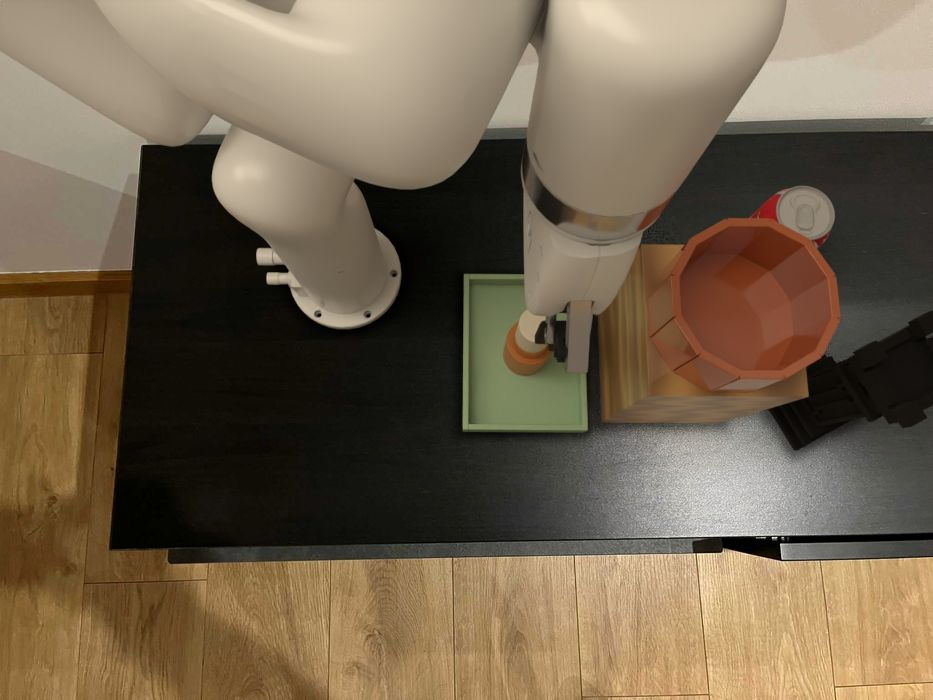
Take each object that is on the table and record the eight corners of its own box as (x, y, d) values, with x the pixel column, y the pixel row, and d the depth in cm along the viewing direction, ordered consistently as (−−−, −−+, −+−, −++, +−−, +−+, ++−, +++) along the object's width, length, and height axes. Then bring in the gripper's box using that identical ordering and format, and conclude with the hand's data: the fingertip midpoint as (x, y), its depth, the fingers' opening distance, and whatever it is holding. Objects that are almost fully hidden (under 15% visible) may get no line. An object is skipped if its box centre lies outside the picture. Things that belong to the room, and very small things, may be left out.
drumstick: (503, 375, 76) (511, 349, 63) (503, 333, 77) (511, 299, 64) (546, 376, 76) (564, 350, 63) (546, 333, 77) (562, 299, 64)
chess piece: (794, 450, 75) (910, 433, 56) (754, 385, 77) (853, 347, 57) (855, 416, 76) (991, 388, 56) (814, 353, 77) (933, 304, 58)
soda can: (786, 228, 81) (841, 182, 69) (786, 286, 79) (842, 249, 67) (725, 223, 81) (770, 175, 69) (724, 280, 79) (769, 242, 67)
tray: (462, 431, 75) (462, 429, 73) (463, 280, 79) (463, 273, 77) (583, 432, 75) (588, 430, 73) (579, 281, 79) (583, 274, 77)
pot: (652, 392, 56) (676, 378, 50) (645, 247, 59) (666, 217, 53) (805, 393, 56) (848, 379, 50) (790, 248, 59) (830, 218, 53)
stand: (601, 422, 76) (648, 395, 56) (597, 307, 78) (641, 244, 59) (719, 423, 76) (809, 396, 56) (711, 308, 78) (794, 245, 59)
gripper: (521, -1, 35) (502, 162, 51) (525, 336, 31) (503, 393, 48) (671, 1, 35) (603, 163, 51) (692, 337, 31) (612, 394, 48)
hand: (555, 274), depth 50 cm, fingers open, 9 cm apart
